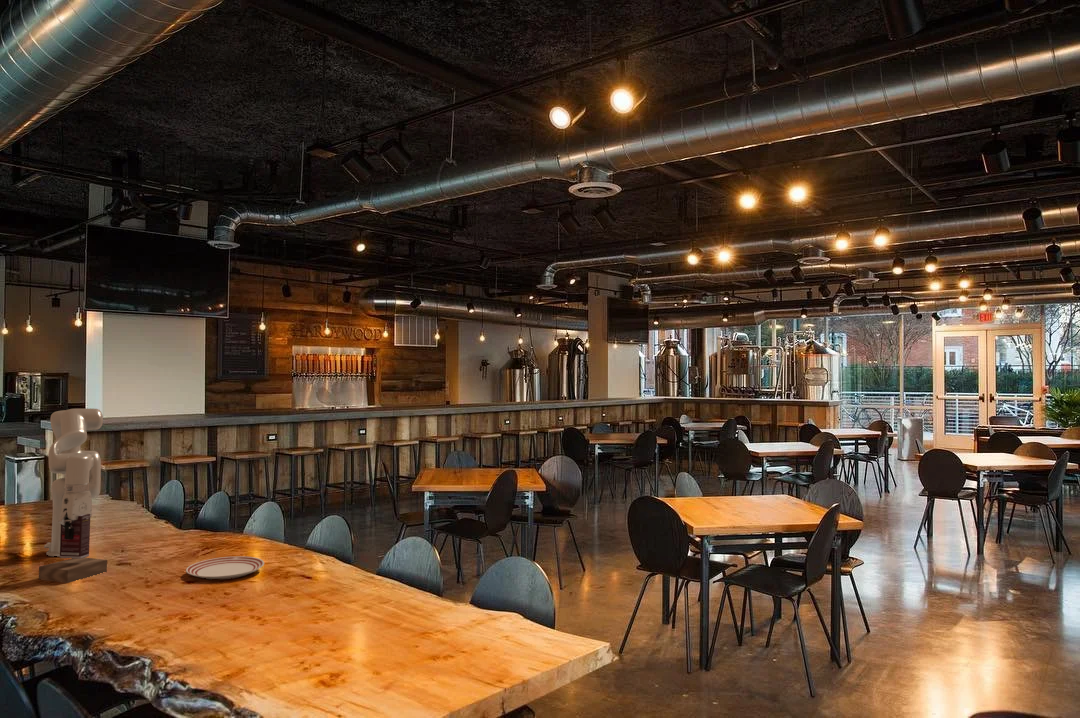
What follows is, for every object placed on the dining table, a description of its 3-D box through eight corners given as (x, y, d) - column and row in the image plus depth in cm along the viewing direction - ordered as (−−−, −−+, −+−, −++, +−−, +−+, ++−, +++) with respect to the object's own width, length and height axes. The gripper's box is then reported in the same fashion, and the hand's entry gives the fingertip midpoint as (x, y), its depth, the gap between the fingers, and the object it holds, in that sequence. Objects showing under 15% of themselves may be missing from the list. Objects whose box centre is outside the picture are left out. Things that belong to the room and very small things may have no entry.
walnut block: (38, 580, 260) (39, 566, 260) (78, 569, 275) (79, 556, 275) (67, 584, 256) (68, 570, 256) (106, 573, 271) (107, 559, 271)
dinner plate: (235, 586, 256) (235, 576, 256) (168, 580, 262) (169, 571, 262) (278, 567, 283) (278, 558, 283) (216, 562, 289) (217, 554, 289)
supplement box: (89, 556, 268) (91, 513, 268) (80, 559, 263) (81, 515, 263) (68, 555, 268) (70, 512, 269) (58, 558, 264) (60, 515, 264)
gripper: (67, 492, 258) (65, 543, 257) (103, 485, 274) (101, 533, 274) (49, 491, 259) (47, 542, 258) (85, 485, 275) (83, 532, 275)
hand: (74, 537), depth 266 cm, fingers closed on supplement box, 4 cm apart
